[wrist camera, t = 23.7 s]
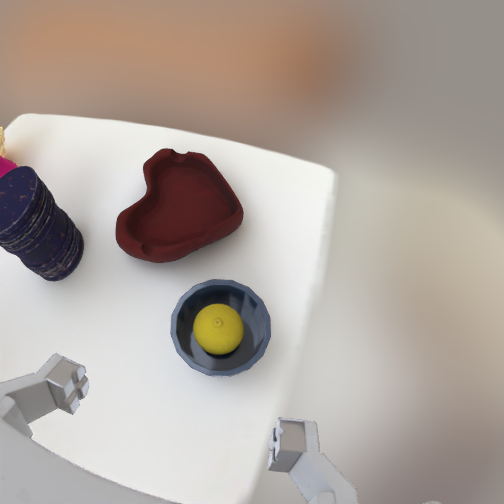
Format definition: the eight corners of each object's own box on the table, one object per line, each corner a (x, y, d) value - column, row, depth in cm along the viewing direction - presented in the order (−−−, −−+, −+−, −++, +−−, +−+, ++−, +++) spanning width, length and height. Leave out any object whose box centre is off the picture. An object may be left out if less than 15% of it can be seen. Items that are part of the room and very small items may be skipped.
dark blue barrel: (49, 219, 40) (5, 163, 26) (93, 229, 40) (51, 166, 26) (26, 273, 36) (-30, 228, 22) (70, 289, 36) (11, 243, 22)
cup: (220, 393, 32) (219, 396, 26) (164, 333, 35) (151, 322, 28) (279, 337, 36) (290, 327, 29) (223, 282, 38) (222, 261, 32)
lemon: (247, 320, 36) (252, 303, 28) (235, 362, 33) (237, 358, 26) (204, 307, 36) (198, 288, 29) (191, 349, 33) (181, 340, 26)
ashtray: (227, 286, 38) (228, 272, 34) (116, 259, 38) (104, 243, 34) (253, 181, 46) (256, 159, 41) (158, 164, 46) (153, 143, 41)
